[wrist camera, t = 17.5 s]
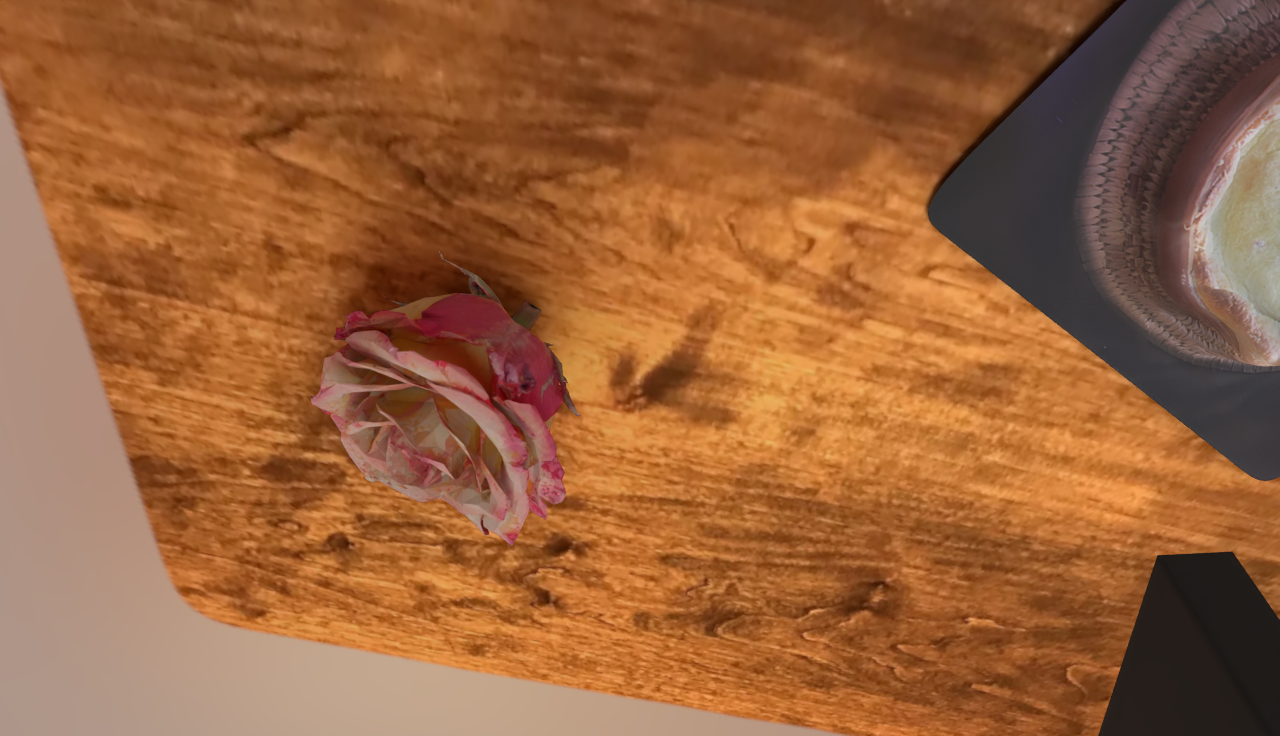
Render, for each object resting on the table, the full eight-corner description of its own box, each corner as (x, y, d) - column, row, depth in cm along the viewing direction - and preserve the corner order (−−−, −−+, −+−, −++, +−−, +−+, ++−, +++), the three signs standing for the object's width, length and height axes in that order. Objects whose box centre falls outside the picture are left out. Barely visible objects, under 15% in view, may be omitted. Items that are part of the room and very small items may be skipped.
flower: (513, 172, 38) (353, 336, 34) (693, 383, 41) (567, 561, 37) (378, 256, 46) (232, 400, 41) (537, 430, 49) (417, 582, 44)
